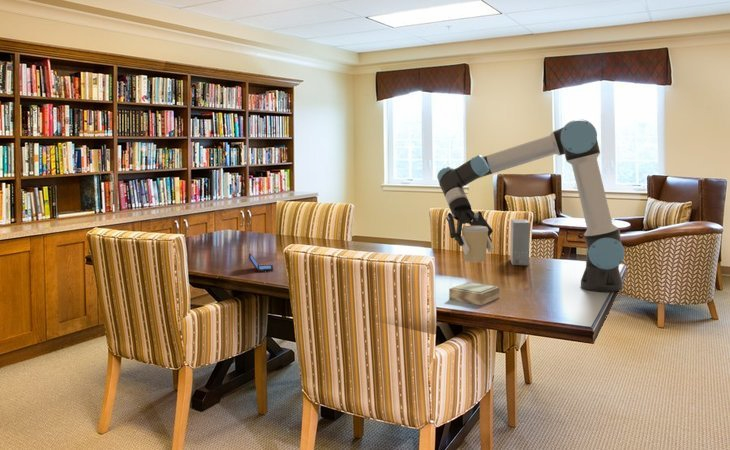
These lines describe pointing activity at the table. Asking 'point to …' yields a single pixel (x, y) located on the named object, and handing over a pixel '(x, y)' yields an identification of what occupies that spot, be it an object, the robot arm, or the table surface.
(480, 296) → the birch riser
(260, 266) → the handheld game console
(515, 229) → the hard drive box
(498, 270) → the table surface
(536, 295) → the table surface
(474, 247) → the coffee cup
